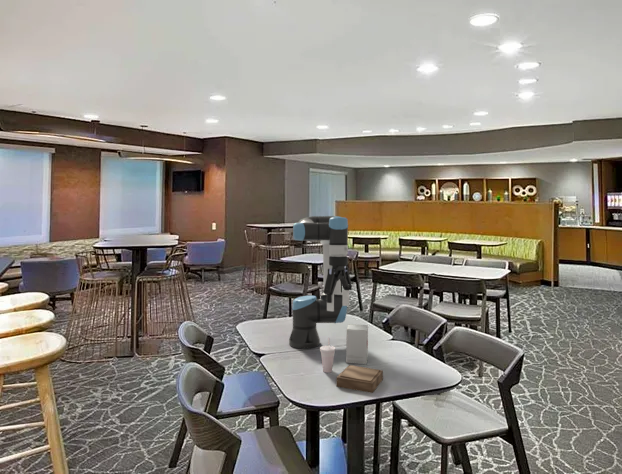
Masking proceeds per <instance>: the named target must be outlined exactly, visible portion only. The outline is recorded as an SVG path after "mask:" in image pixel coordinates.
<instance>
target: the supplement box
mask: <svg viewBox="0 0 622 474" xmlns="http://www.w3.org/2000/svg"><path fill="white" fill-rule="evenodd" d="M345 345H346V347H345V349H346V350H345V352H346V353H345V356H346V357H345V362H346V364H357V365H367V364H368V363H367V362H368V358H369V356H368V355H369V354H368V352H369V350H368V349H369V347H368V346H369V325H368V324H357V323H356V324H353V323H352V324H347V328H346V344H345Z"/></svg>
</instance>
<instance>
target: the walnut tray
mask: <svg viewBox="0 0 622 474" xmlns="http://www.w3.org/2000/svg"><path fill="white" fill-rule="evenodd" d="M383 379H384V370H383V369H377V368H370V367H364V366H360V365H359V366H358V365H353V364H349V365H348V366H347V367H345V368H344V369H343V370H342V371H341V372H340V373H339V374H338V375H337V376H336V379H335V380H336V382H335V384H336V388H337V387H338V388H343V389H348V390H354V391H359V392H363V393H369V394H374V392H375V391H376V389H377V388H378V387H379V385H380V384H381V383H382V381H383Z"/></svg>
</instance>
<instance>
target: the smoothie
mask: <svg viewBox="0 0 622 474" xmlns="http://www.w3.org/2000/svg"><path fill="white" fill-rule="evenodd" d="M327 340H328V341H327V343H328V344H327V345H322V346H319V351H320V357H321V363H322V364H321V365H322V371H323V373H327V374H328V373H329V374H330V373H332V372H333V367H334V359H335V352H336V347H335V346H333V345H330V342H331V341H330V337H328V338H327Z"/></svg>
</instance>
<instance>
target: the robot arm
mask: <svg viewBox="0 0 622 474" xmlns="http://www.w3.org/2000/svg"><path fill="white" fill-rule="evenodd" d="M348 221H349V220H348V218H347V217H342V216H338V215H337V216H336V215H325V216H321V215H320V216H319V215H313V216H311V215H310V216H307V217H304V218H301V219H299V221H298V222H295V223H294V224H292V225H293V228H292V229H293V232H292V233H293V241H301V242H302V241H319V243H320V244H321V245H322V255H323V256H322V262H323V263H322V264H323V265H322V266H323V268H322V271H323V274H322V275H323V292H322V293H321V294H320V298H317V296H316V295H304V296H298V297H296V298H294V299H293V302H292V309H291V310H292V329H291V333H290V336H289V339H288V345H289V346H290V347H292V348H296V349H313V348H316V347H320V346H321V345H320V344H321V338H320V336H319V332H318V330H317V329H318V328H317V324H339V323H340V324H341V323H342V324H343V323H344V322H345V320H346V317H347V311H348V307H349V306H350V291H351V290H352V289H353V286H352V280H351V276H350V272H349V266H348V264H349V257H348V254H349V251H348V250H349V247H348V243H349V242H348V241H349V240H348V236H349V234H348V233H349V223H348Z"/></svg>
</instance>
